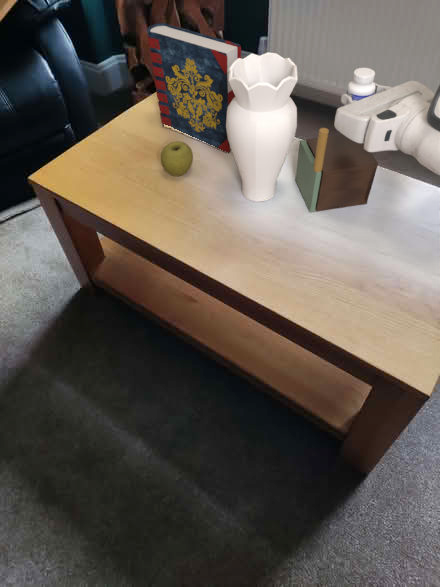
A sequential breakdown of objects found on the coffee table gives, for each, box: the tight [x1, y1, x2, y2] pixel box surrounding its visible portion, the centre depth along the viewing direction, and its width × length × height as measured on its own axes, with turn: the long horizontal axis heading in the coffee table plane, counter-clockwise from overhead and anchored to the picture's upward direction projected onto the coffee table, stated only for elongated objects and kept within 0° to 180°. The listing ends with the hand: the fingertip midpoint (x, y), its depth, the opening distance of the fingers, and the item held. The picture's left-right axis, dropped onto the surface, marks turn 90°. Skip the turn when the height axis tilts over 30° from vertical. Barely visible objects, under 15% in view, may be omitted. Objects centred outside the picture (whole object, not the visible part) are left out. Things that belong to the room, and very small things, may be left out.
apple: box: [160, 141, 194, 177], centre depth 106 cm, size 8×8×7 cm
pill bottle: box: [343, 67, 376, 106], centre depth 87 cm, size 5×5×10 cm
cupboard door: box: [294, 127, 330, 213], centre depth 93 cm, size 2×12×20 cm, turn 10°
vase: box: [226, 51, 299, 203], centre depth 92 cm, size 15×15×29 cm
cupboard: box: [305, 133, 379, 212], centre depth 97 cm, size 12×12×11 cm
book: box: [146, 22, 242, 154], centre depth 109 cm, size 25×7×25 cm, turn 53°
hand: (357, 92), depth 87 cm, fingers closed on pill bottle, 5 cm apart
